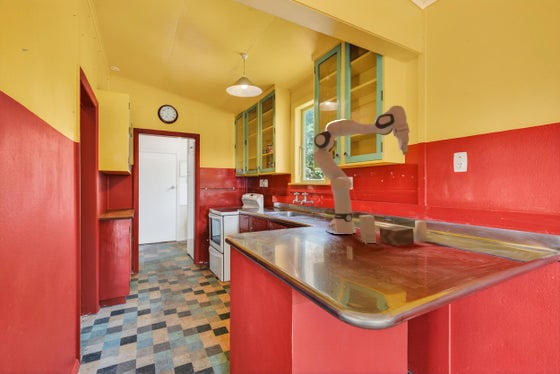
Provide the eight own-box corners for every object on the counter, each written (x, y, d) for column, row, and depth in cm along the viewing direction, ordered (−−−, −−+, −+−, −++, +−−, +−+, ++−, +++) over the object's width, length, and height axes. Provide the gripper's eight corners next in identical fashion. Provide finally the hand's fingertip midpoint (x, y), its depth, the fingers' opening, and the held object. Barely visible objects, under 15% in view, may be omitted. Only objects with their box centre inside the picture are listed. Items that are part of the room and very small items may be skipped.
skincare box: (376, 244, 139) (375, 216, 139) (364, 244, 139) (363, 216, 139) (371, 240, 147) (369, 214, 147) (359, 241, 147) (358, 214, 147)
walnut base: (380, 241, 143) (379, 227, 143) (396, 239, 148) (395, 225, 148) (396, 246, 132) (395, 230, 132) (413, 243, 136) (413, 228, 136)
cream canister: (413, 240, 143) (412, 221, 143) (420, 239, 145) (419, 220, 144) (422, 242, 137) (421, 222, 137) (429, 241, 139) (428, 221, 139)
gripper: (394, 137, 164) (398, 157, 162) (396, 127, 146) (401, 150, 144) (405, 134, 162) (409, 155, 160) (408, 124, 143) (413, 148, 141)
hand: (405, 153), depth 152 cm, fingers open, 8 cm apart
